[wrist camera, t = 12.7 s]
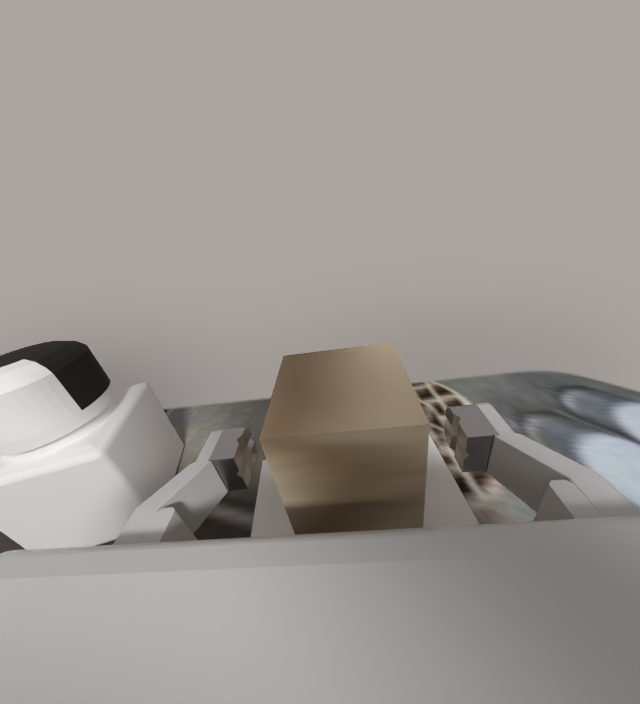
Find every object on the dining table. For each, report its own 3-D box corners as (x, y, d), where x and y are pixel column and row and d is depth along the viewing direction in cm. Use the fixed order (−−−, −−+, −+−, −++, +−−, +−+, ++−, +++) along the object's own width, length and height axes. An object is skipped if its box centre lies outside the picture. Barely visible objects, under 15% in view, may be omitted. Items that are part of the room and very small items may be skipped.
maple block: (396, 495, 15) (392, 342, 10) (419, 593, 11) (429, 424, 7) (321, 500, 16) (283, 355, 11) (318, 596, 12) (258, 439, 7)
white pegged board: (427, 445, 19) (430, 406, 17) (580, 732, 9) (625, 709, 7) (266, 470, 19) (253, 435, 18) (225, 778, 9) (180, 767, 7)
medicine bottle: (100, 469, 22) (-6, 345, 17) (186, 444, 23) (113, 319, 17) (41, 565, 16) (-161, 422, 10) (161, 527, 17) (36, 376, 11)
